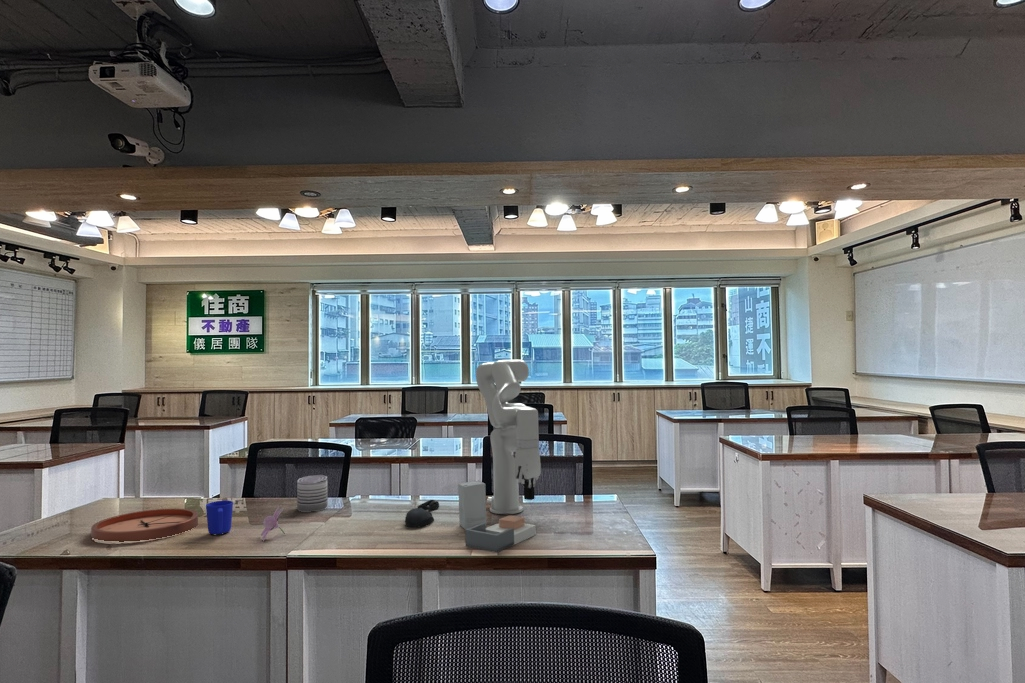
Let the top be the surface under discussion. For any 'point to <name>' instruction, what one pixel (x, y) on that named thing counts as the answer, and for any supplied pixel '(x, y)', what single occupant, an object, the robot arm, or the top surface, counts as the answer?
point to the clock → (145, 525)
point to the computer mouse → (421, 515)
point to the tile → (511, 522)
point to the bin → (488, 538)
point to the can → (312, 493)
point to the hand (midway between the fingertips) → (529, 499)
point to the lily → (271, 523)
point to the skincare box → (472, 504)
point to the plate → (515, 531)
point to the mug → (219, 516)
